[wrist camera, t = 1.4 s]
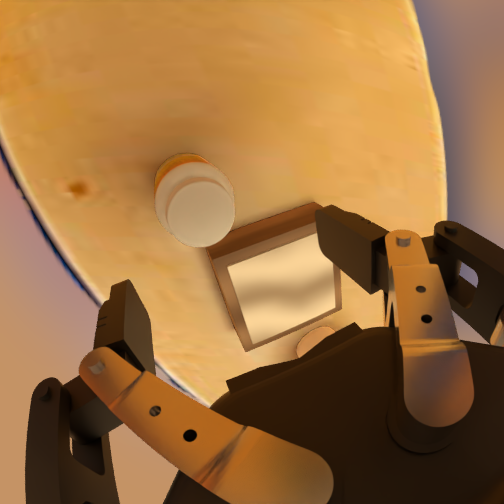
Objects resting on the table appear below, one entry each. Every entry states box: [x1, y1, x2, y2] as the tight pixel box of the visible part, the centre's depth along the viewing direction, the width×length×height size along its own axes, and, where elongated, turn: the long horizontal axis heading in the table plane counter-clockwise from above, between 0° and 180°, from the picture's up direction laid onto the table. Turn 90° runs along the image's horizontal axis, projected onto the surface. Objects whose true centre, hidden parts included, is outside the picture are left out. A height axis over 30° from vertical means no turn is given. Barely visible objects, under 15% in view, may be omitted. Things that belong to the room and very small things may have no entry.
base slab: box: [206, 202, 342, 352], centre depth 30 cm, size 12×12×4 cm
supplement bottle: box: [154, 153, 235, 247], centre depth 20 cm, size 5×5×10 cm
